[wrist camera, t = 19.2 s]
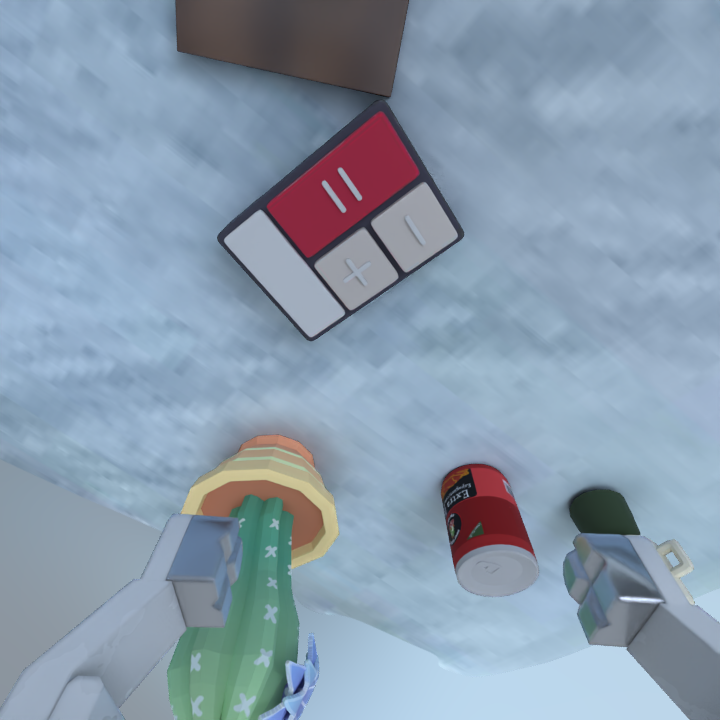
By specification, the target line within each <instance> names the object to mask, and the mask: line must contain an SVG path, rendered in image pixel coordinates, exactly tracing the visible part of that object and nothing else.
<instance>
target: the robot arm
mask: <svg viewBox="0 0 720 720" xmlns="http://www.w3.org/2000/svg"><path fill="white" fill-rule="evenodd" d="M239 529H240V524H239V519H238V518H233V517H218V516H204V515H190V514H173V515H172V516H171V517H170V518H169V520H168V521H167V523H166V525H165V528H164V530H163V532H162V534H161V536H160V538H159V540H158V542H157V544H156V547H155V549H154V551H153V553H152V555H151V557H150V559H149V561H148V563H147V565H146V567H145V570H144V572H143V574H142V576H141V578H140V579H133V580H132V581H131V582H129V583H128V584H127V585H126V586H124V588H122V589H121V590H120V591H118V592H117V593H116V594H115V595H114V596H112V597H111V598H110V599H109V600H108V601H106V602H105V603H104V604H103V605H101V606H100V607H99V608H98V609H97V610H95V611H94V612H93V613H92V614H91V615H89V616H88V617H87V618H86V619H85V620H83V621H82V622H81V623H80V624H78V625H77V626H76V627H75V628H74V629H72V630H71V631H70V632H69V633H68V634H66V635H65V636H64V637H63V638H62V639H60V640H59V641H58V642H57V643H55V644H54V645H53V646H52V647H51V648H49V650H47V651H46V652H45V653H43V654H42V655H41V656H40V657H39V658H37V659H36V660H35V661H34V662H32V664H30V665H29V666H28V667H26V668H25V669H24V670H23V671H22V673H21V675H20V676H19V678H18V679H17V681H16V683H15V685H14V686H13V688H12V689H11V691H10V693H9V694H8V696H7V698H6V699H5V701H4V703H3V704H2V706H1V708H0V720H125V718H124V717H123V715H122V714H121V712H120V710H119V708H120V707H121V705H122V704H123V703H124V702H125V700H127V698H128V697H129V696H130V695H131V694H132V692H133V691H134V690H135V689H136V688H137V687H138V686H139V685H140V683H141V682H142V681H143V680H144V679H145V678H146V676H147V675H148V674H149V673H150V672H151V671H152V669H153V668H154V667H155V666H156V665H157V664H158V663H159V661H160V660H161V659H162V658H163V657H164V655H165V654H166V653H167V652H168V651H169V650H170V649H171V647H172V646H173V645H174V644H175V643H176V642H177V640H178V639H179V638H180V637H181V636H182V635H183V634H184V632H185V631H186V630H187V628H186V627H208V628H224V627H225V624H226V620H227V617H228V613H229V609H230V606H231V602H232V599H233V598H232V592H231V587H230V586H232V585H233V584H234V583H235V582H236V581H237V580H238V576H239V572H240V569H241V563H242V556H243V543H242V538H240V537H239V536H238V532H239ZM573 544H574V547H575V549H574V550H573V551H571V552H569V553H568V554H567V555H566V558H565V560H564V562H563V576H564V580H565V585H566V587H567V590H568V593H569V595H570V596H571V597H572V598H573V599H574V600H575V601H576V602H577V603H578V604H580V605H579V609H578V612H577V615H578V618H579V620H580V623H581V625H582V628H583V630H584V633H585V635H586V638H587V640H588V643H589V644H590V645H604V646H618V647H628V648H627V651H628V652H629V653H630V654H631V655H632V656H633V657H634V658H635V659H636V661H637V662H638V663H639V664H640V665H641V666H642V667H643V668H644V669H645V670H646V672H647V673H648V674H649V675H650V676H651V677H652V678H653V679H654V681H655V682H656V683H657V684H658V685H659V686H660V687H661V688H662V689H663V691H664V692H665V693H666V694H667V695H668V696H669V697H670V698H671V699H672V701H673V702H674V703H675V704H676V705H677V706H678V707H679V708H680V709H681V711H682V712H683V713H684V714H685V715H686V716H687V717H688V718H689V719H690V720H720V623H719V622H718V621H717V620H715V619H714V618H713V617H712V616H710V615H709V614H708V613H707V612H705V611H704V610H703V609H701V608H700V607H699V606H698V605H691V604H690V603H689V601H688V599H687V598H686V596H685V595H684V593H683V592H682V590H681V588H680V587H679V585H678V584H677V582H676V580H675V579H674V577H673V576H672V574H671V573H670V571H669V569H668V568H667V566H666V565H665V563H664V561H663V560H662V558H661V557H660V555H659V554H658V552H657V550H656V549H655V547H654V546H653V544H652V543H651V541H650V540H649V539H648V538H646V537H645V536H630V535H620V534H589V533H580V534H578V535H577V536H576V537H575V539H574V541H573Z"/></svg>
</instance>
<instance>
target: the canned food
mask: <svg viewBox="0 0 720 720" xmlns="http://www.w3.org/2000/svg"><path fill="white" fill-rule="evenodd" d="M441 497H442V502H443V508H444V514H445V519H446V525H447V530H448V536H449V542H450V547H451V553H452V558H453V564H454V568H455V573H456V576H457V580H458V582H459V584H460V585H461V586H462V587H463V588H464V589H465V590H467V591H469V592H471V593H473V594H476V595H481V596H488V597H501V596H508V595H512V594H515V593H518V592H521V591H523V590H525V589H527V588H528V587H529V586H531V585H532V584H533V583H534V582H535V581H536V579H537V577H538V575H539V568H538V564H537V560H536V557H535V554H534V551H533V548H532V545H531V542H530V540H529V537H528V534H527V531H526V529H525V526H524V523H523V521H522V518H521V515H520V512H519V510H518V507H517V504H516V501H515V499H514V496H513V493H512V491H511V488H510V485H509V483H508V481H507V479H506V478H505V477H504V475H503V474H502V473H501V472H500V471H499V470H497V469H496V468H494V467H491V466H488V465H484V464H469V465H464V466H461V467H458V468H457V469H455V470H453V471H452V472H450V473H449V474H448V475H447V476H446V477H445V479H444V481H443V484H442V489H441Z"/></svg>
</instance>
